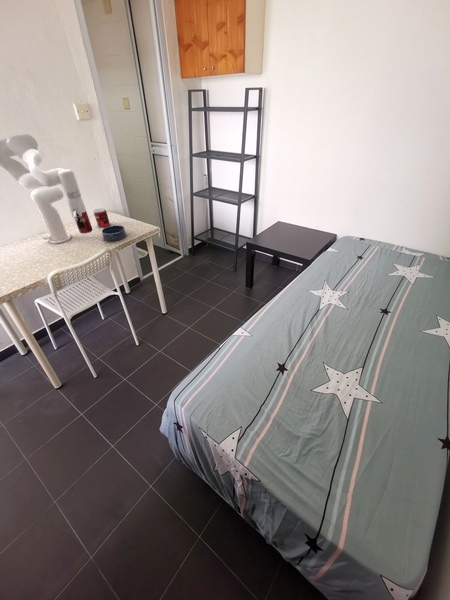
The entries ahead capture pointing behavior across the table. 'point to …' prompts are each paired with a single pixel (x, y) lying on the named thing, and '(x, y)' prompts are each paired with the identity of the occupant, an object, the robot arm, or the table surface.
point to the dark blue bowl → (113, 233)
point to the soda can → (85, 223)
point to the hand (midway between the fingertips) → (84, 225)
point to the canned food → (101, 217)
